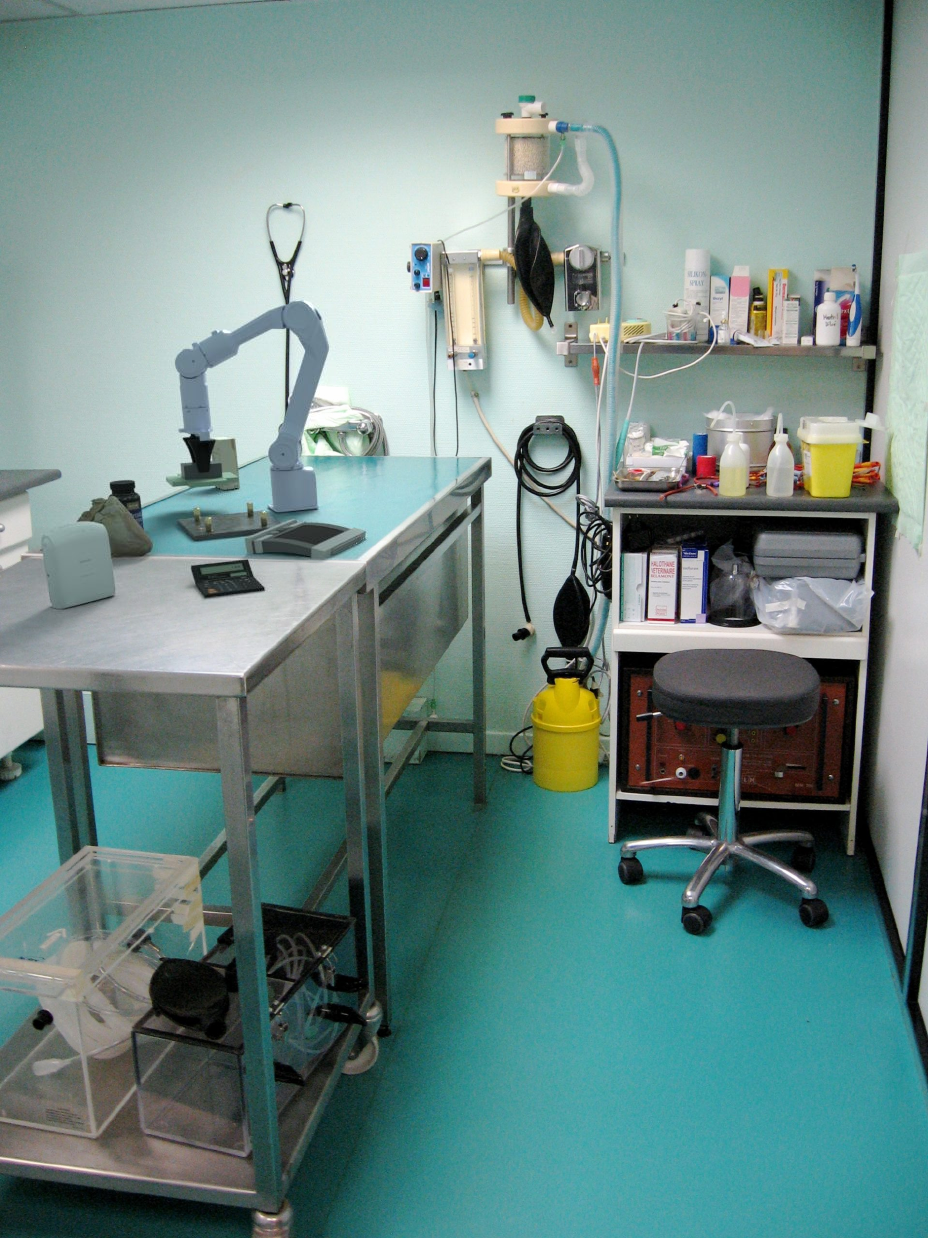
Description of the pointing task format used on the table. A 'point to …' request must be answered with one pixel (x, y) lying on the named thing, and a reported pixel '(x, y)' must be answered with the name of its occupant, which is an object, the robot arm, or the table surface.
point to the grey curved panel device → (304, 539)
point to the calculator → (225, 578)
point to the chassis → (227, 524)
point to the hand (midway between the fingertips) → (201, 470)
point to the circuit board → (202, 481)
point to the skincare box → (226, 458)
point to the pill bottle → (128, 498)
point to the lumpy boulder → (118, 527)
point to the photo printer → (78, 564)
